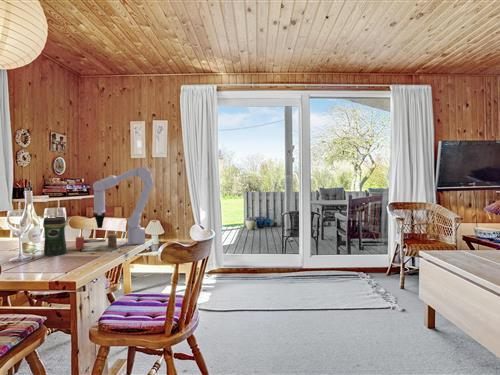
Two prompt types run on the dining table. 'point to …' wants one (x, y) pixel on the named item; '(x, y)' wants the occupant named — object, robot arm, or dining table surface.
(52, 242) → the coffee jar
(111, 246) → the eye bracket
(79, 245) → the hook bolt
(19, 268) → the dining table surface
